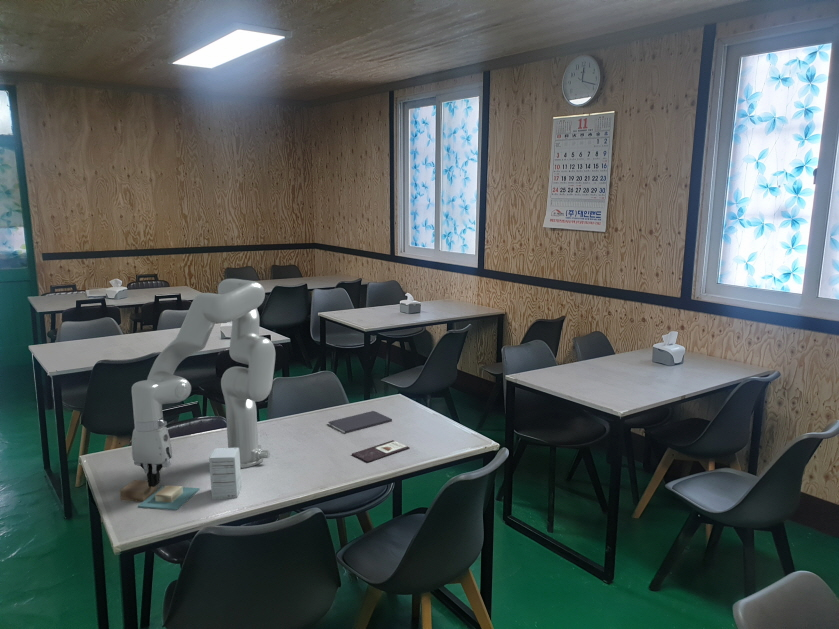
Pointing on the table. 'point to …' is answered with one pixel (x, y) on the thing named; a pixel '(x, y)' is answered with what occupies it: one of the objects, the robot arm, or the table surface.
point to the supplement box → (225, 473)
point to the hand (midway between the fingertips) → (154, 484)
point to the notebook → (359, 422)
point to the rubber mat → (174, 505)
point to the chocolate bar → (380, 451)
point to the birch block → (169, 493)
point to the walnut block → (137, 491)
